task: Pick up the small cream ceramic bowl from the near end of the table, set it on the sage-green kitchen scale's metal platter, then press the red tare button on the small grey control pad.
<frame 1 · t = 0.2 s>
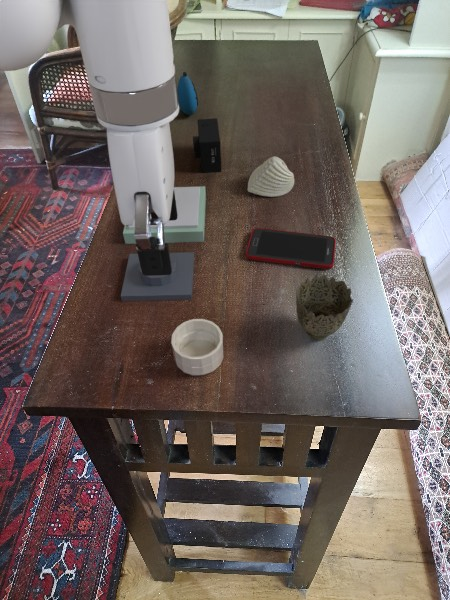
hand: (161, 244, 53), 18 cm above the table, tool pointing down, fingers open, 9 cm apart
scale: (167, 219, 86), on the table
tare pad: (159, 278, 75), on the table
tare button: (157, 262, 72), point 3 cm above the table, slide at 0.1 cm
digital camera: (207, 160, 100), on the table
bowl: (199, 356, 64), on the table
seashell: (270, 187, 92), on the table
cup: (317, 332, 66), on the table
cell phone: (290, 251, 79), on the table
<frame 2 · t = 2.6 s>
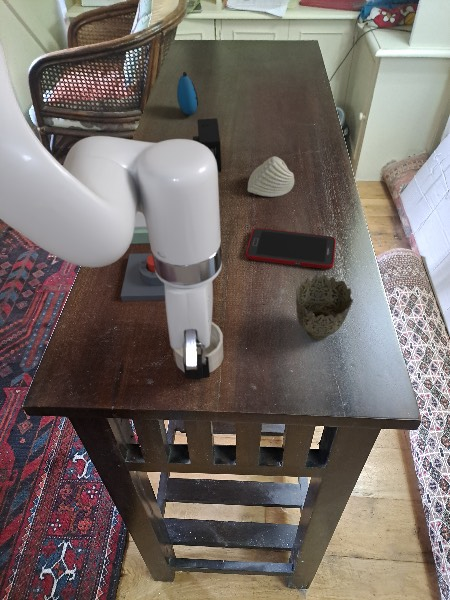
hand: (198, 352, 63), 1 cm above the table, tool pointing down, fingers closed on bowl, 6 cm apart
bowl: (199, 356, 64), on the table, touching gripper
everything else where it was.
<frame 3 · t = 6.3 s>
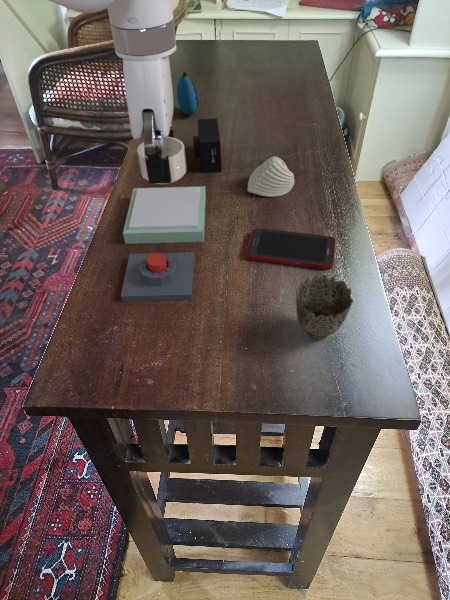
hand: (163, 167, 68), 16 cm above the table, tool pointing down, fingers closed on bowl, 6 cm apart
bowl: (164, 173, 69), point 15 cm above the table, touching gripper
everything else where it was.
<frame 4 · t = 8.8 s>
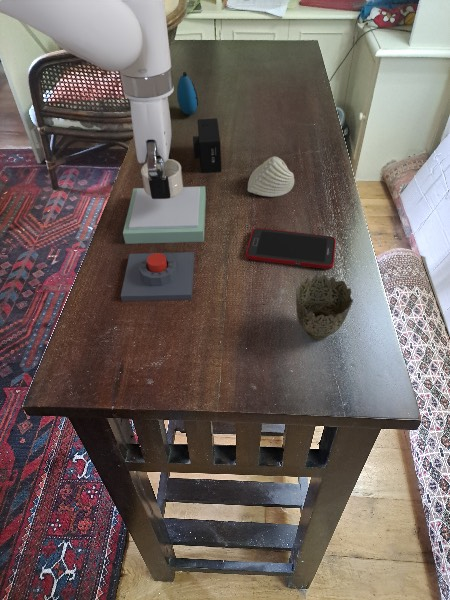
hand: (163, 184, 80), 7 cm above the table, tool pointing down, fingers closed on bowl, 6 cm apart
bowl: (164, 189, 81), point 6 cm above the table, touching gripper
everything else where it was.
when the fingers open (4 cm above the table, at t = 10.3 s): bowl stays where it is, resting on scale.
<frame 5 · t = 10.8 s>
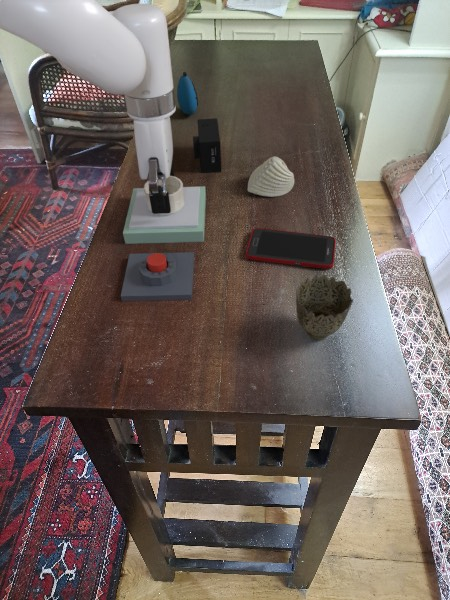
hand: (164, 196, 82), 5 cm above the table, tool pointing down, fingers open, 9 cm apart
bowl: (166, 205, 84), point 3 cm above the table, touching scale
everything else where it was.
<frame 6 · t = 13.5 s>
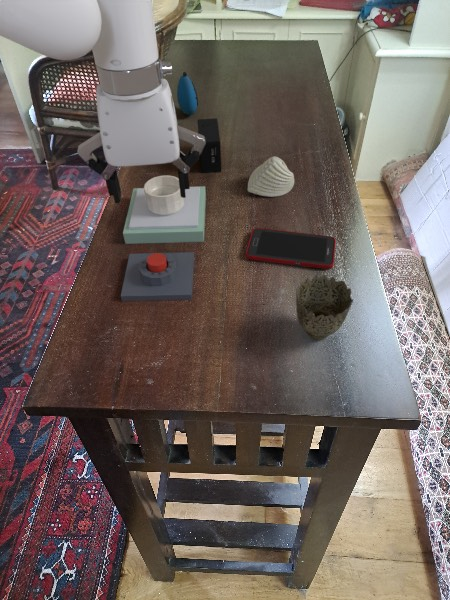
hand: (150, 195, 68), 13 cm above the table, tool pointing down, fingers open, 9 cm apart
nothing on the table moved.
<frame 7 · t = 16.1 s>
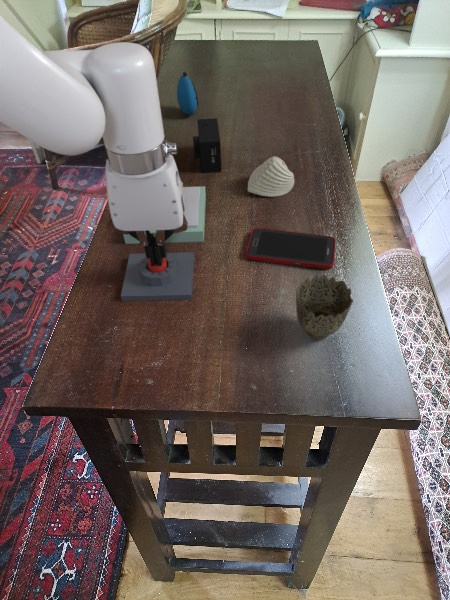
hand: (157, 259, 72), 4 cm above the table, tool pointing down, fingers closed
tare button: (157, 264, 73), point 3 cm above the table, slide at -0.1 cm, touching gripper
everything else where it was.
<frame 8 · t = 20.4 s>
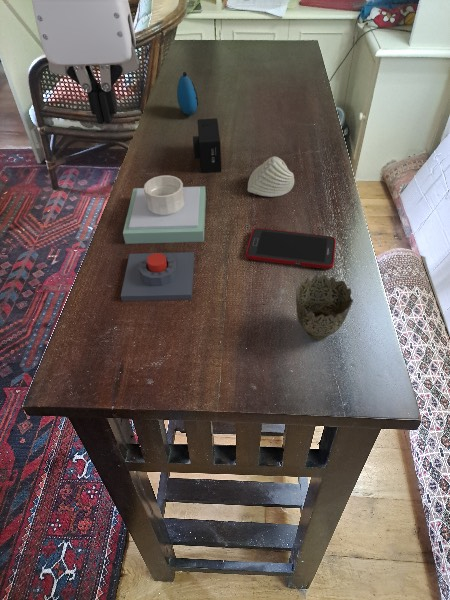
hand: (106, 118, 59), 25 cm above the table, tool pointing down, fingers closed
tare button: (157, 262, 72), point 3 cm above the table, slide at 0.1 cm
everything else where it was.
at the end: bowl inside the target area on the scale (0.1 cm from its centre), point 3.0 cm above the scale's base; tare button pushed in 1.1 cm at the most during the clip, back to where it started at the end; tare button slide at 0.1 cm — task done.
